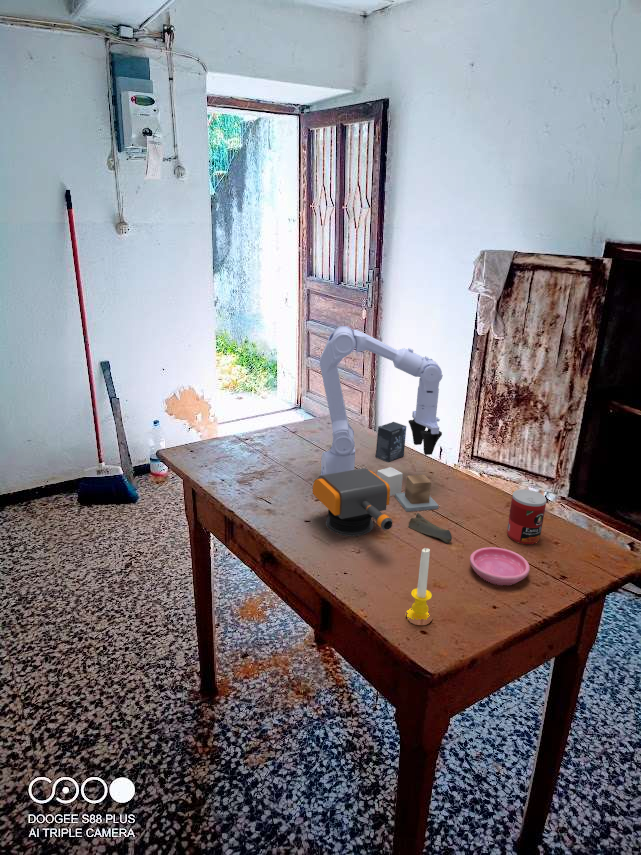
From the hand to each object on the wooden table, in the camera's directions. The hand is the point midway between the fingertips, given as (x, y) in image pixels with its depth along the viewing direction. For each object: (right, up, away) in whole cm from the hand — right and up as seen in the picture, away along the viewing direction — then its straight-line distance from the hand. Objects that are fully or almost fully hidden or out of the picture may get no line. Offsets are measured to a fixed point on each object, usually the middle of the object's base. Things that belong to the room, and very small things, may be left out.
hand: (422, 449), depth 169 cm
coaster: (-3, -14, -9) cm, 17 cm away
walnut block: (-3, -13, -9) cm, 16 cm away
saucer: (+10, -26, -39) cm, 48 cm away
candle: (-10, -31, -55) cm, 64 cm away
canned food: (+20, -21, -24) cm, 38 cm away
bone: (-2, -20, -23) cm, 31 cm away
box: (-7, -3, +21) cm, 23 cm away
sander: (-20, -20, -25) cm, 38 cm away
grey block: (-10, -12, -3) cm, 16 cm away
